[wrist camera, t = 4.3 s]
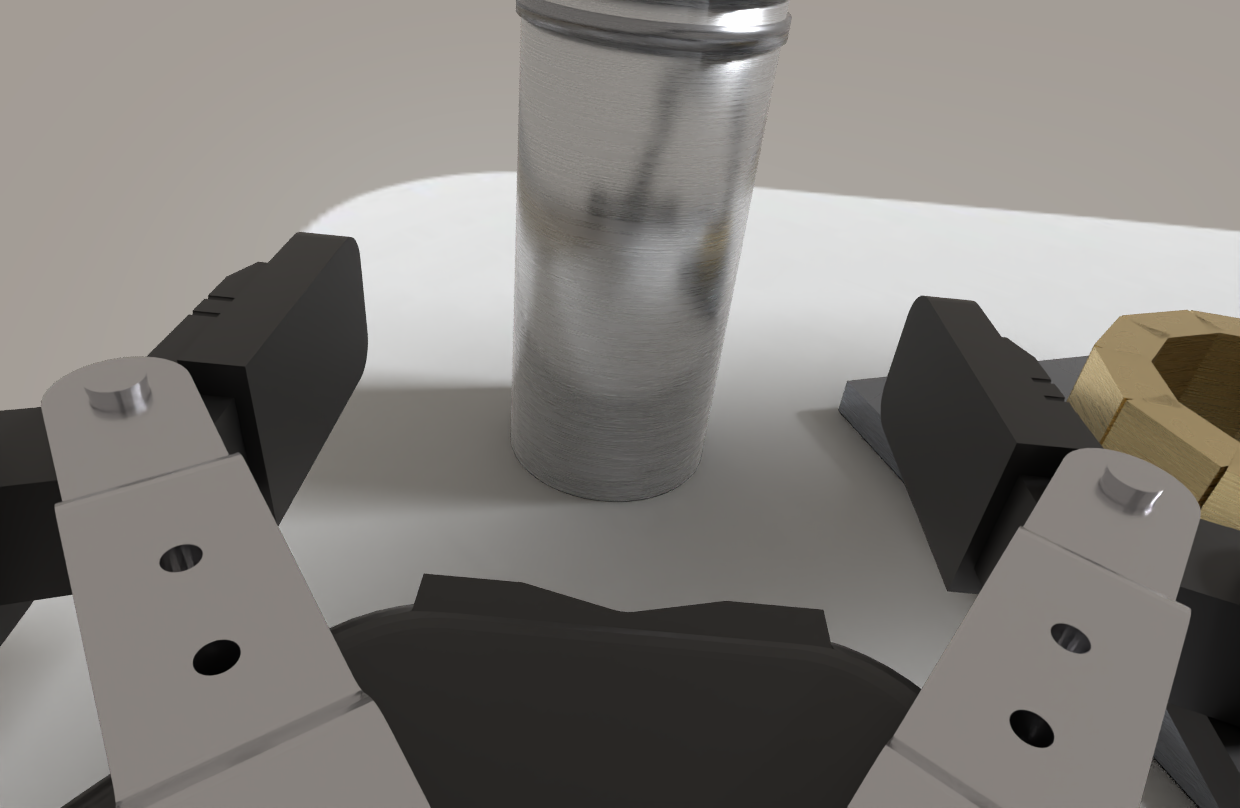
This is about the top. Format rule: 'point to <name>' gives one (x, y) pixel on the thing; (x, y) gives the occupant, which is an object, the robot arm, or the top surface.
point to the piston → (631, 229)
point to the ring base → (1143, 429)
